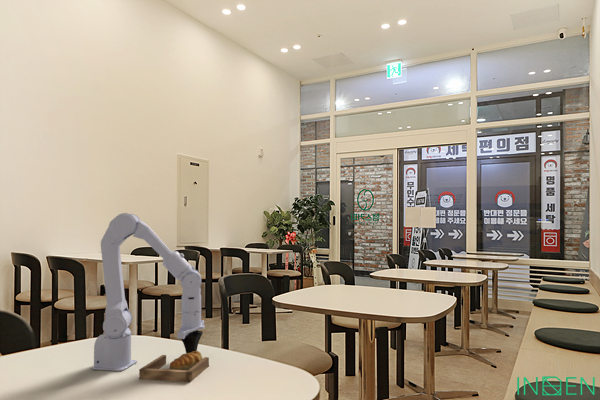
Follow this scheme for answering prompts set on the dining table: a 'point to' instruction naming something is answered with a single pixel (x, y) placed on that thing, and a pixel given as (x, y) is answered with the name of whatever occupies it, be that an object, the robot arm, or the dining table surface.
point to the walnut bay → (171, 371)
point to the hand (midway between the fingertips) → (191, 356)
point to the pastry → (186, 361)
